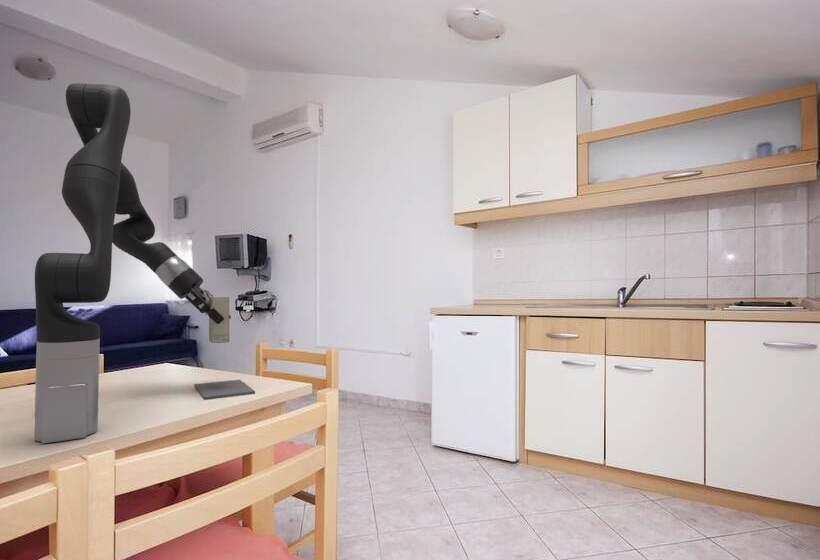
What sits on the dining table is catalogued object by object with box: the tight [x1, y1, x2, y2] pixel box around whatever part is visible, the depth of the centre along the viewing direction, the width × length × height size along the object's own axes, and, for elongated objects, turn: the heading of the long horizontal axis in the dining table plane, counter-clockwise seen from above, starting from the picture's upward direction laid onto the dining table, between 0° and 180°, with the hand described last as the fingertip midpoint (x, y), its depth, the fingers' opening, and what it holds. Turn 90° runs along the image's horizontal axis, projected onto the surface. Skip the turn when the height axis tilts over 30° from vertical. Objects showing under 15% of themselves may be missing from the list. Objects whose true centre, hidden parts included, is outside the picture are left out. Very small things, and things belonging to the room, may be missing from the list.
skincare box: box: [208, 296, 230, 344], centre depth 118 cm, size 6×4×12 cm
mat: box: [193, 379, 256, 401], centre depth 118 cm, size 18×12×1 cm, turn 33°
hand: (225, 320), depth 119 cm, fingers closed on skincare box, 7 cm apart
